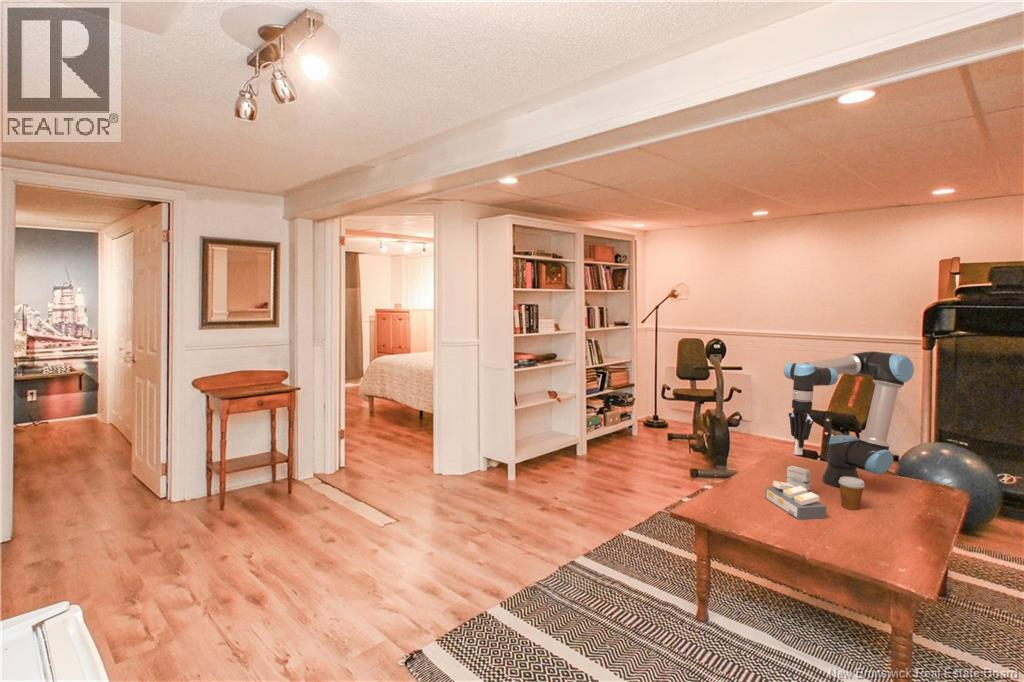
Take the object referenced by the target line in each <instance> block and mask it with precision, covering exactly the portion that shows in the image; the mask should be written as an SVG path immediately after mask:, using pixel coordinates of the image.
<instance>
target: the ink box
mask: <svg viewBox="0 0 1024 682" xmlns="http://www.w3.org/2000/svg"><path fill="white" fill-rule="evenodd" d="M786 468H787V470H786V482H785V483H790V484H792V485H794V486H795V487H797V486H801V487H803V488H805V489H807V492H808V493H809V492H811V491H810V490H811V477H812V475H811V474H812V473H811V471H812V470H811V469H808V468H803V467H799V466H796V465H790V466H787V467H786Z"/></svg>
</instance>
